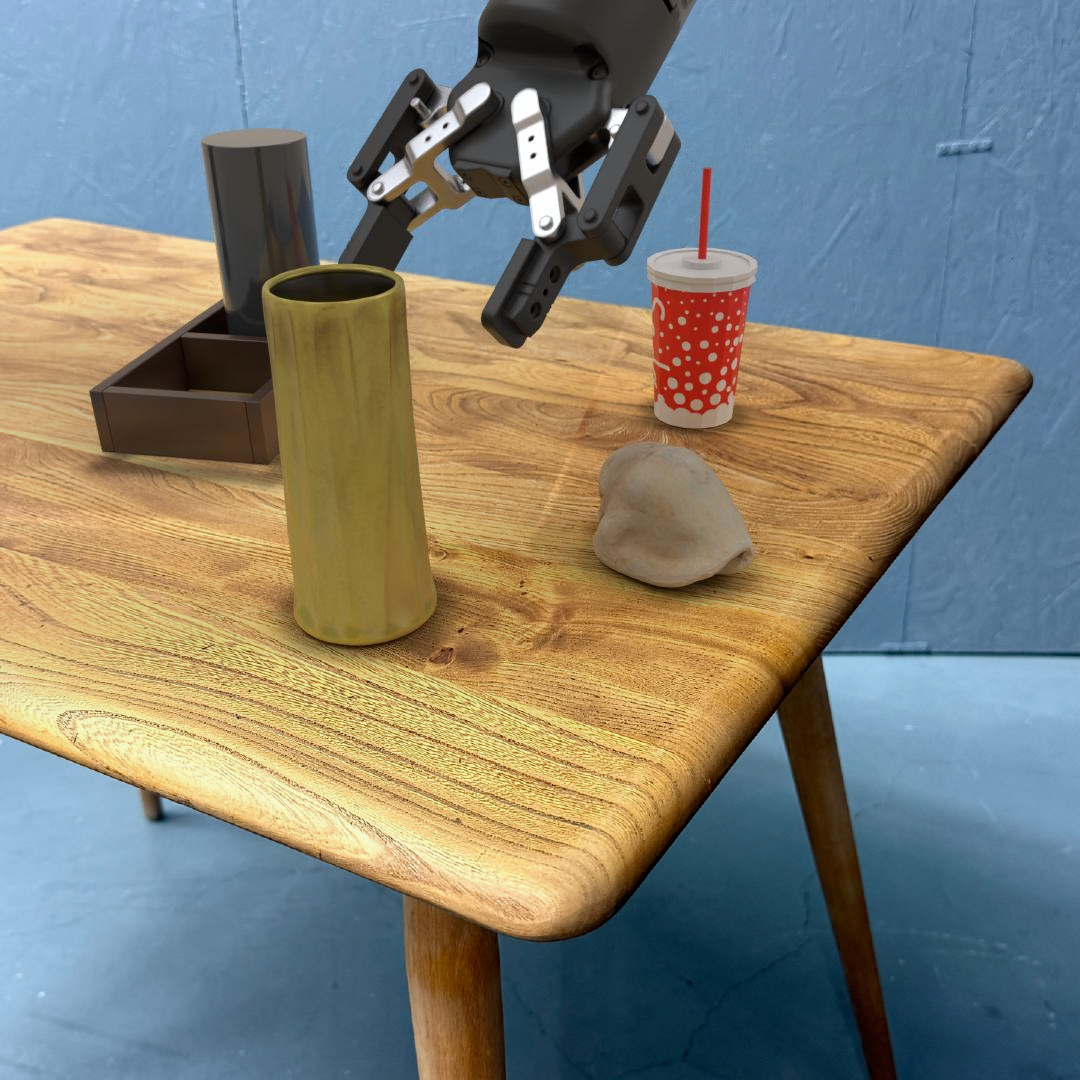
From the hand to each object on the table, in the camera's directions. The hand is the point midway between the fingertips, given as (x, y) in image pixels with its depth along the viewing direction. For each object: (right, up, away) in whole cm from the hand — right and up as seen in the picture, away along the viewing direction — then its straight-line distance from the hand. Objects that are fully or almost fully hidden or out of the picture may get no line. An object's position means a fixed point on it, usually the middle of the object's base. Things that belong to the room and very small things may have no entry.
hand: (421, 314), depth 47 cm
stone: (+10, -10, +7) cm, 16 cm away
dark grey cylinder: (-12, +2, +26) cm, 29 cm away
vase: (-3, -12, +3) cm, 13 cm away
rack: (-12, -1, +23) cm, 26 cm away
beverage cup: (+14, -2, +21) cm, 26 cm away
